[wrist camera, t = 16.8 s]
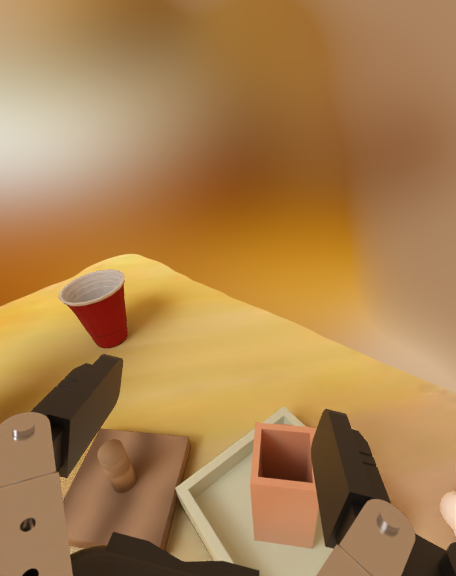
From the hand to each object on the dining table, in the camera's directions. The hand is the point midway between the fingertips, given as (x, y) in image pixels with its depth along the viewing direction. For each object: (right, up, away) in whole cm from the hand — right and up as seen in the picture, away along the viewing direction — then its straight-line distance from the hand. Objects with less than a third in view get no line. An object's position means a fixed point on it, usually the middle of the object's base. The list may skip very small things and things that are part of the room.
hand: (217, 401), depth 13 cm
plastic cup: (-21, -5, +49) cm, 54 cm away
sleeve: (+6, -19, +22) cm, 30 cm away
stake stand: (-11, -19, +26) cm, 34 cm away
